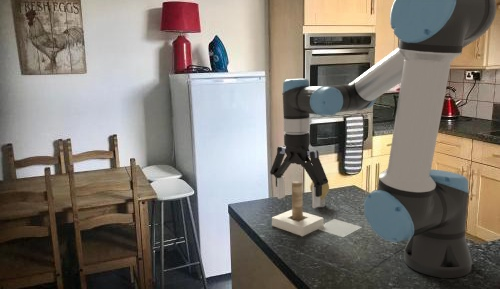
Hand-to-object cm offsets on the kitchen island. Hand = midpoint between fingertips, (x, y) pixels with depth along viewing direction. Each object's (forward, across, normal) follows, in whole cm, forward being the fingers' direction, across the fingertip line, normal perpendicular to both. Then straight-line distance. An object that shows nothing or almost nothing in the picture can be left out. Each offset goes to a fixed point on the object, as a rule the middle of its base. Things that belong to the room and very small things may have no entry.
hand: (298, 202), depth 127 cm
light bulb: (+8, +6, -19) cm, 22 cm away
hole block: (+8, 0, 0) cm, 8 cm away
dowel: (+8, +1, 0) cm, 8 cm away
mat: (+8, -10, -7) cm, 14 cm away
